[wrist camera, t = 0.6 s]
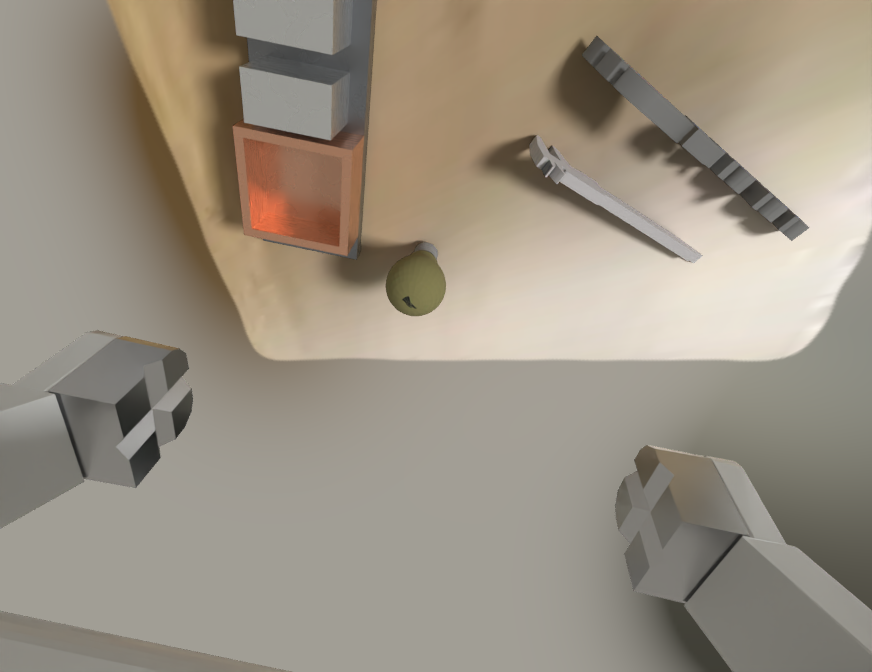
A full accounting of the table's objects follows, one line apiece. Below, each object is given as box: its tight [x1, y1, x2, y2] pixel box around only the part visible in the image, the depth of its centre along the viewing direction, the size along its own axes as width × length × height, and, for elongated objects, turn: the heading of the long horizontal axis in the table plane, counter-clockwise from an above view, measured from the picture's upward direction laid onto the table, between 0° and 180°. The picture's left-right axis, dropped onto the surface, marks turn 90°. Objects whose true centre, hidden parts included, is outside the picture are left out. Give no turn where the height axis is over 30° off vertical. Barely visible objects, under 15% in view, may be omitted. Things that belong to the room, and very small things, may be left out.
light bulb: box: [386, 242, 446, 316], centre depth 47 cm, size 6×6×10 cm
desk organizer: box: [233, 0, 377, 260], centre depth 42 cm, size 24×10×6 cm, turn 171°
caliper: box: [529, 135, 702, 263], centre depth 43 cm, size 20×1×6 cm, turn 59°
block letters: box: [582, 36, 809, 241], centre depth 39 cm, size 25×2×6 cm, turn 56°
